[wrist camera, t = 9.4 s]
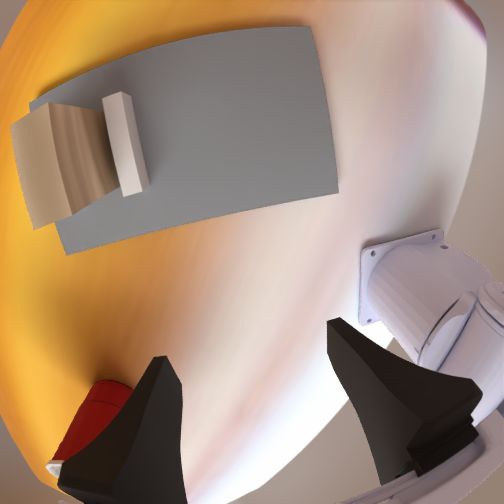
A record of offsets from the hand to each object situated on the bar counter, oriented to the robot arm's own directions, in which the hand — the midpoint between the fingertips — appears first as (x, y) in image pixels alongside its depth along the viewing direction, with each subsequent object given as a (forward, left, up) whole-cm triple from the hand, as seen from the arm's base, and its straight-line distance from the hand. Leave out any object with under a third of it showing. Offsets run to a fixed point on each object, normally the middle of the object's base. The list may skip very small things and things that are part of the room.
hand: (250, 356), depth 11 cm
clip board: (+2, -10, -9) cm, 14 cm away
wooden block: (+7, -10, -8) cm, 15 cm away
